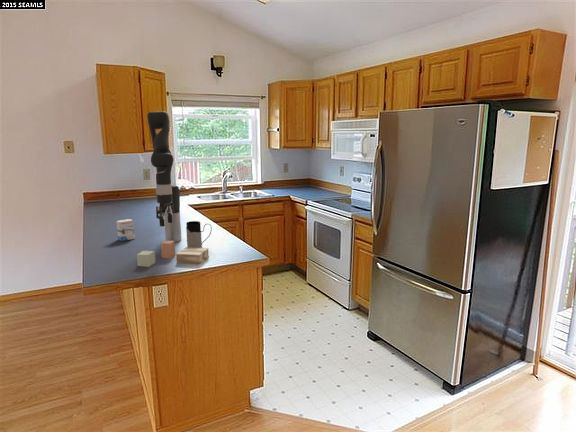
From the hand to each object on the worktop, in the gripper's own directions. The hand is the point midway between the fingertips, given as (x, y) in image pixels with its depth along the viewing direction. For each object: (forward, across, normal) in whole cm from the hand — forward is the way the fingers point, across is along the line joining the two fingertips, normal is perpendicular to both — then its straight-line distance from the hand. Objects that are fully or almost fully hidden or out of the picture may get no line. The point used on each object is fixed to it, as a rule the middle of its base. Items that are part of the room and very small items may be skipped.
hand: (166, 224), depth 194 cm
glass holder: (+17, -17, +10) cm, 26 cm away
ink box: (+17, -27, -41) cm, 52 cm away
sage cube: (+18, +13, -5) cm, 22 cm away
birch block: (+18, +2, +15) cm, 23 cm away
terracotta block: (+17, 0, 0) cm, 17 cm away
